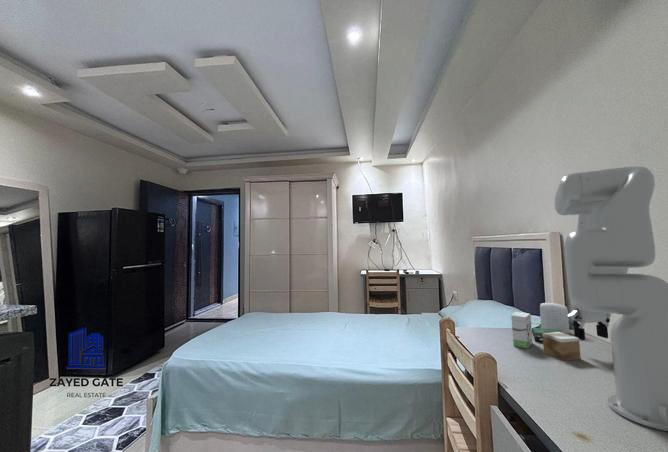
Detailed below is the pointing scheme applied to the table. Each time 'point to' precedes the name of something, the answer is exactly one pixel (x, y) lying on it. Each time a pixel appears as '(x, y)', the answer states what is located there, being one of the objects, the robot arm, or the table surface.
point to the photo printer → (554, 317)
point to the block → (561, 346)
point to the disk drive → (541, 333)
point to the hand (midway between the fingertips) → (591, 338)
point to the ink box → (521, 329)
